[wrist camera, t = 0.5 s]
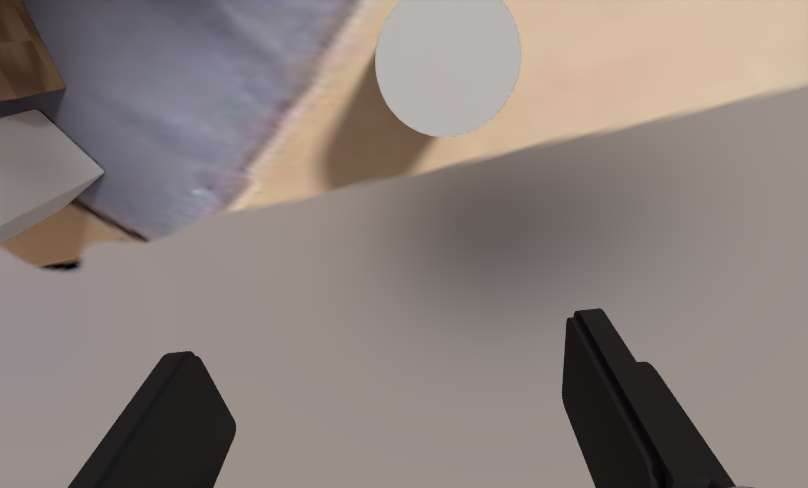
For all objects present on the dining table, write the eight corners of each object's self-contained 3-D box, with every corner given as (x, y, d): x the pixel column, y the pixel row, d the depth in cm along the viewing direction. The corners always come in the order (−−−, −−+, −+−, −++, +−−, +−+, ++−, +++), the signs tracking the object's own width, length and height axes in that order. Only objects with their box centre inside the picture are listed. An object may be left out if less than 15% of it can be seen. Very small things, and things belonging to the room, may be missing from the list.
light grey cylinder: (404, 112, 36) (401, 153, 25) (372, 11, 32) (353, 10, 21) (495, 82, 34) (532, 113, 24) (473, -27, 30) (506, -48, 20)
